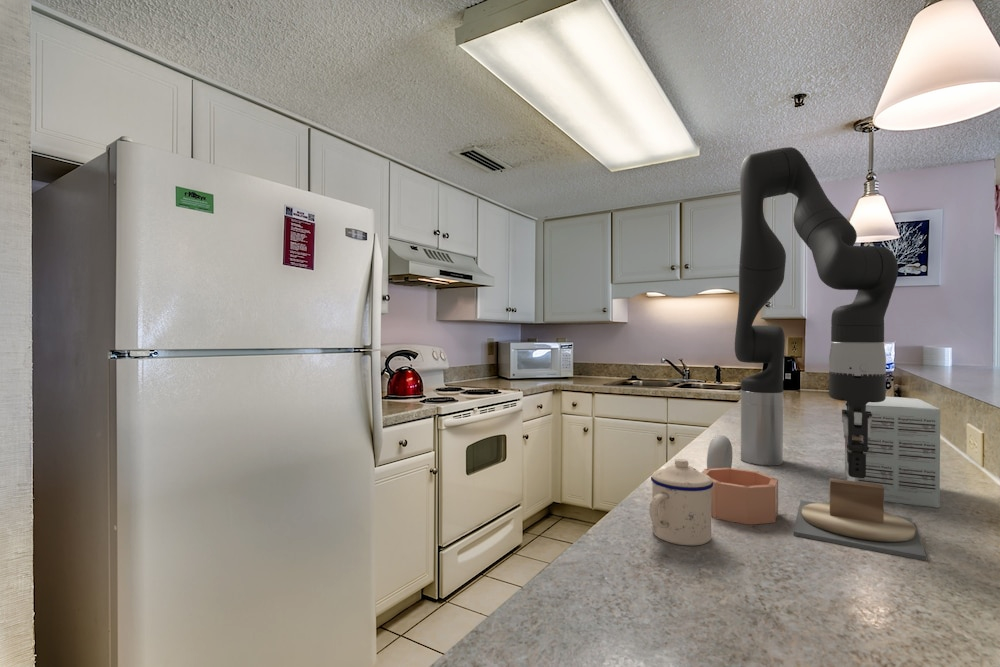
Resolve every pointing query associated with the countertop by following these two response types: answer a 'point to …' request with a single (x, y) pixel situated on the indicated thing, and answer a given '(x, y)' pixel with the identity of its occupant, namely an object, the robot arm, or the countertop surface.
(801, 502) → the mat
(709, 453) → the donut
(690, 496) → the teacup with lid
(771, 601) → the countertop surface
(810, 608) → the countertop surface
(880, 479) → the supplement box
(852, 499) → the lid
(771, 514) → the bowl
